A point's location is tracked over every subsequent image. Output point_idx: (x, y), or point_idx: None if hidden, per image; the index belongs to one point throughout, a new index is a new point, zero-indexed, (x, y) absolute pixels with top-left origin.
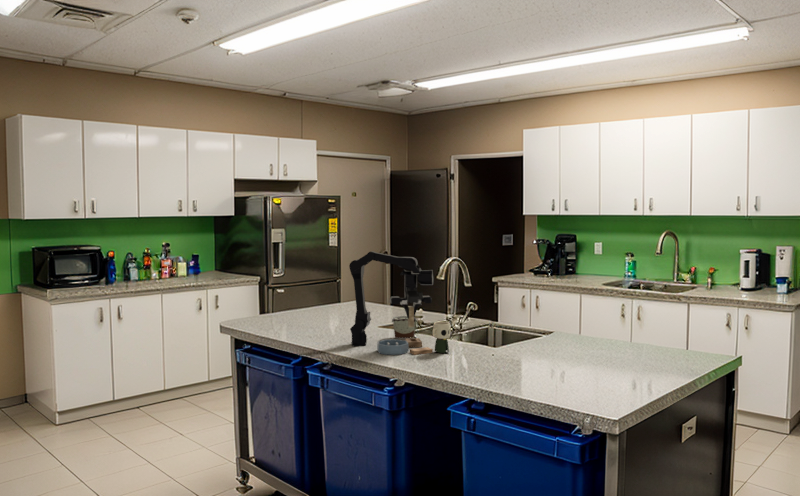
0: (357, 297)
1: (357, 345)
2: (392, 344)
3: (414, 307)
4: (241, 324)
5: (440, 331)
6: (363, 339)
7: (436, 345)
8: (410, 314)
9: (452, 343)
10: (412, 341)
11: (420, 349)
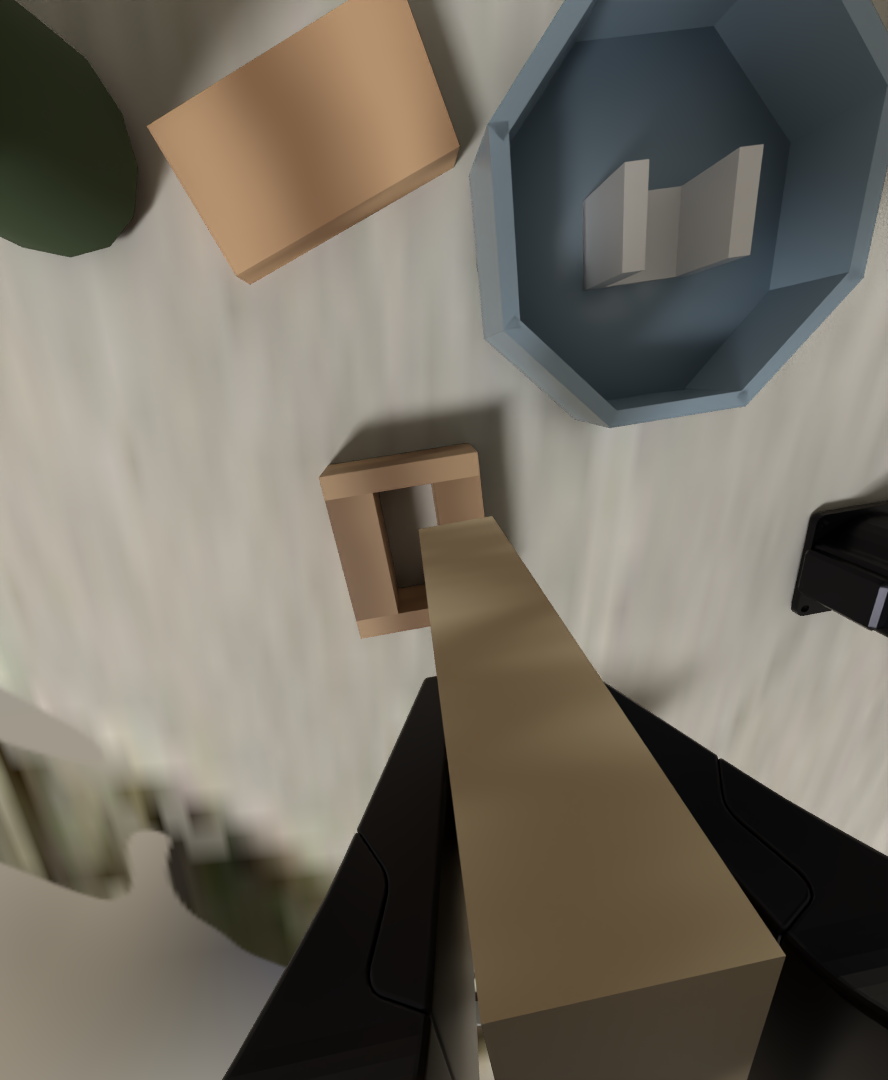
0: None
1: (879, 503)
2: (634, 399)
3: (426, 1062)
4: None
5: None
6: (870, 552)
7: (26, 19)
8: (547, 655)
9: (46, 626)
10: (422, 596)
11: (315, 113)
